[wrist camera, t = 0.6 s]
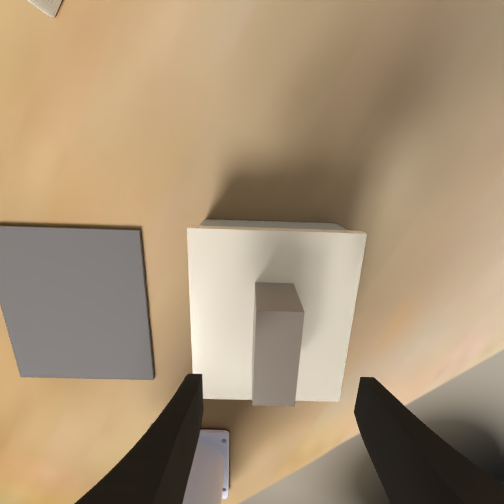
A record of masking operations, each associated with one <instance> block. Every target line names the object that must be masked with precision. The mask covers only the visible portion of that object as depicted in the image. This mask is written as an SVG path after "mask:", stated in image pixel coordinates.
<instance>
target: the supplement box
mask: <svg viewBox="0 0 504 504" xmlns="http://www.w3.org/2000/svg"><path fill="white" fill-rule="evenodd" d="M27 1H29V2H30V3H32V4H33V5H34V6H36V7H37V8H38V9H40V10H41V11H42V12H44V13H46V14H47V15H49V16H50V17H52V18H54V17H55V16H56V13H57V11H58V9H59V6H60V4H61V1H62V0H27Z"/></svg>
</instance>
